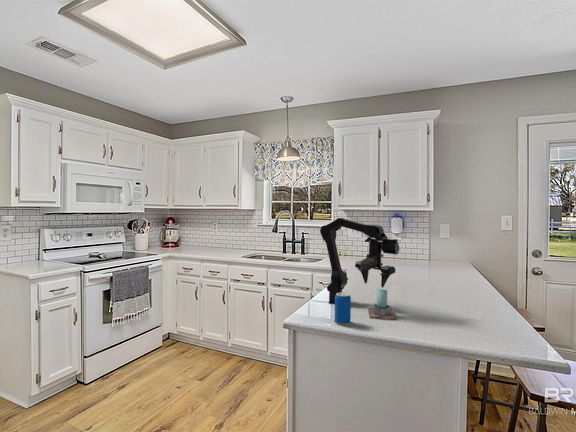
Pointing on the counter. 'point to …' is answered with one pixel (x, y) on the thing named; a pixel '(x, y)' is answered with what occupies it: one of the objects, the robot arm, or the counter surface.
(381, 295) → the peg
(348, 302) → the beverage can
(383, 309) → the collar
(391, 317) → the base board
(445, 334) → the counter surface
